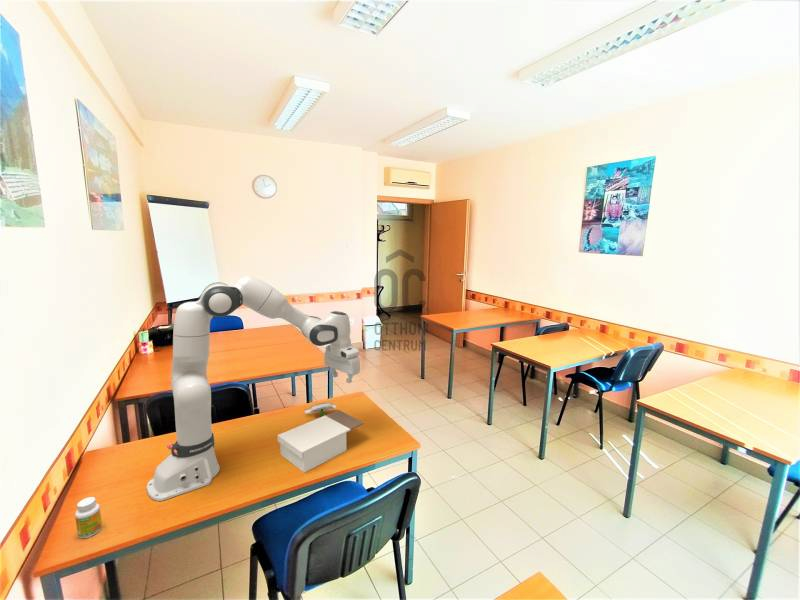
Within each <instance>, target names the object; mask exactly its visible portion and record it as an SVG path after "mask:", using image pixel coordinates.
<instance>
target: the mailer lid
mask: <svg viewBox="0 0 800 600" xmlns="http://www.w3.org/2000/svg"><path fill="white" fill-rule="evenodd" d="M364 424H365V422H363V421H361V420H360V419H357V418H355V417H354V416H351V415H350V414H348V413H345V411H342V410H340V409H337V410H335V411H333V412H331V413H327V414H326V415H325V414H324V416H323V417H322V416H321V417H318V418H316V419H315V418H314V420H311V421H309V422H306V423H304V424H301V425H299V426H296V427H294V428H292V429H289V430H287V431H284V432H282V433H280V434H277V442H278V443H279V444H280V443H281V444H282V445H284V446H285V447H286V448H288V449H289V450H291V451H292V452H293V453H295V454H296V455H297V456H299V457H300V458H301V459H303V453H305V452H307V451H309V450H311V449H313V448H315V447H317V446H319V445H321V444H323V443H325V442H328V441H330V440H332V439H334V438H336V437H338V436H340V435H342V434H344V433H346V434H347V433H348V432H350V431H352V430H354V429H356V428H359V427H361V426H362V425H364Z"/></svg>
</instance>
